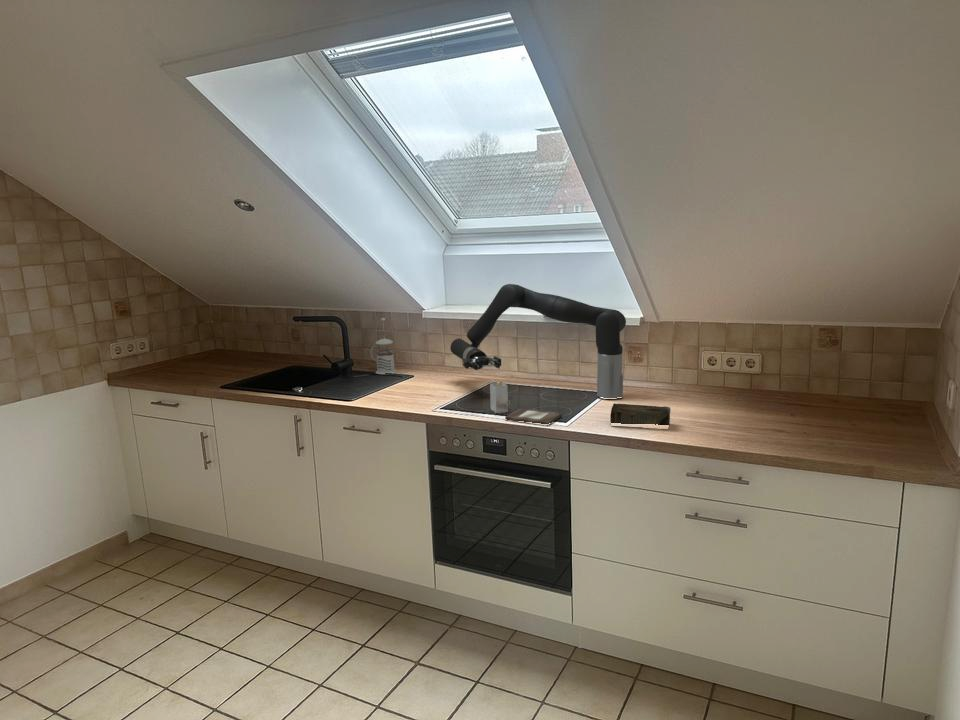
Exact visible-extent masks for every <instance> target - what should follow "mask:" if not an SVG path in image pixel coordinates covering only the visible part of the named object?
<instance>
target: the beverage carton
mask: <svg viewBox="0 0 960 720" xmlns="http://www.w3.org/2000/svg"><path fill="white" fill-rule="evenodd" d="M671 412H672V410H671V407H670V406H665V405H664V406H658V405H656V406H655V405H646V404H645V405H644V404H631V403H613V404H612V407H611V410H610V414H609V415H610V417H609V418H610V422H611V423H621V424H655V425H656V424H658V425H669V426H670V422H671ZM610 422H609V423H610ZM611 423H610V424H611Z"/></svg>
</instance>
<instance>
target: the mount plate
mask: <svg viewBox="0 0 960 720" xmlns="http://www.w3.org/2000/svg"><path fill="white" fill-rule="evenodd" d="M562 415H563V414H562V413H561V412H555V411H554V412H553V411H546V410H541V409H540V410H539V409H533V408H532V409H531V408H530V409H529V408H522V407H520V408H518V409H516V410H514V411H512V412H511V413H510V414H508V415H506V416H505V418H504V419H507V420H513V421H512V422H514V421H524V422H532V423H541V424H549V423H552V422H553V421H555V420H556V421H558V420H559V419H560V418H562V417H561V416H562ZM558 418H559V419H558ZM557 419H558V420H557ZM507 420H506V421H507ZM556 421H555V422H556ZM553 423H554V422H553ZM553 423H552V424H553Z"/></svg>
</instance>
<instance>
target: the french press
mask: <svg viewBox="0 0 960 720" xmlns="http://www.w3.org/2000/svg"><path fill="white" fill-rule="evenodd" d="M380 321H381V322H382V324H383V325H382V326H383V330H385V325H384V324H385V323H384V321H386V318H385V317H382V318H381V319H380ZM393 343H394V341H393V340H391V339H388V338H386V337H383V338H381V339H378V340H376V341H375V345H373V346H372V347H371V348H370V350H369V351H370V353H369V354H371V355H370V358H371V359H372V360H373V361H375V362H376V371H375V374H378V375H386V374H385V373H390V372H394V371H397V370H396V369H395V358H394V355H395V354H394V353H393V352H394V350H393V349H386V346H387V345H388V346H389V345H393ZM379 345H381V346H383V347H384V349H379V350H377V351H376V353H377V355H376V358H375V357H374V355H373V353H372V351H373V349H374V348H375V349H378V346H379Z"/></svg>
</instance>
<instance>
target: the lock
mask: <svg viewBox="0 0 960 720" xmlns="http://www.w3.org/2000/svg"><path fill="white" fill-rule="evenodd" d="M489 384H490V385H489V397H490V398H489V400H490V411H492V412H493V411H494V412H493V413H495V414H496V413H498V414H505V413H506V412H507V413H508V412H509V401H508V400H509V395H508V384H506V383H504V382H503V381H493V382H489ZM507 413H506V414H507Z"/></svg>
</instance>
